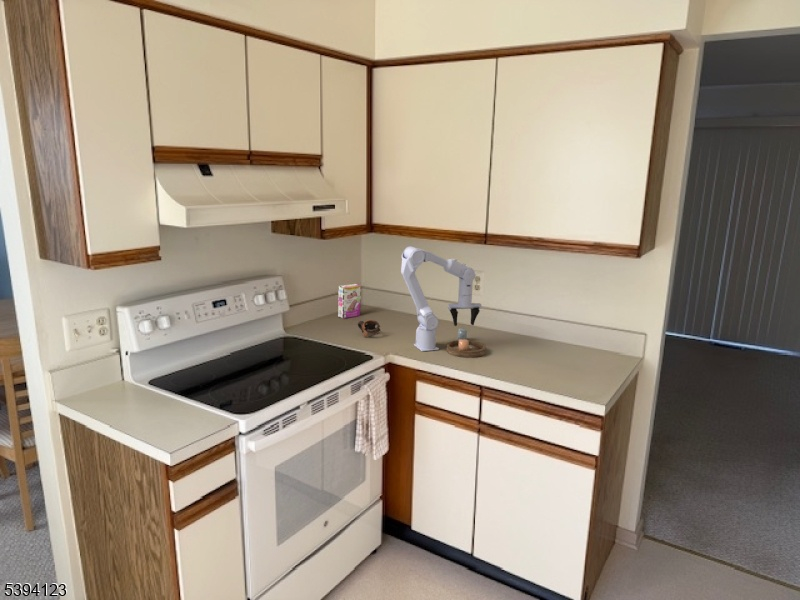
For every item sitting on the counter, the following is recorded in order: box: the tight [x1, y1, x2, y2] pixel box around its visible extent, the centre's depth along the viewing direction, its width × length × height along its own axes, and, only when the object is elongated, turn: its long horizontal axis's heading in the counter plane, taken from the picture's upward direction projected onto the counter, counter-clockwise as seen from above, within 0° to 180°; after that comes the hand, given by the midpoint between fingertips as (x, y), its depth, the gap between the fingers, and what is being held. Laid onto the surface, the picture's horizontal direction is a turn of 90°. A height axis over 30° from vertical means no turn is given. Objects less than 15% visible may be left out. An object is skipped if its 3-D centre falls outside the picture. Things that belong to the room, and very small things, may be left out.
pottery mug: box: [357, 319, 381, 338], centre depth 249 cm, size 12×10×8 cm
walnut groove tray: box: [446, 339, 486, 359], centre depth 229 cm, size 16×16×2 cm
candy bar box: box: [337, 283, 362, 320], centre depth 279 cm, size 11×5×16 cm, turn 130°
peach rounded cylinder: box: [458, 339, 469, 351], centre depth 225 cm, size 4×4×5 cm
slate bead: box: [457, 327, 468, 340], centre depth 245 cm, size 4×4×5 cm
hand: (463, 325), depth 236 cm, fingers open, 7 cm apart
